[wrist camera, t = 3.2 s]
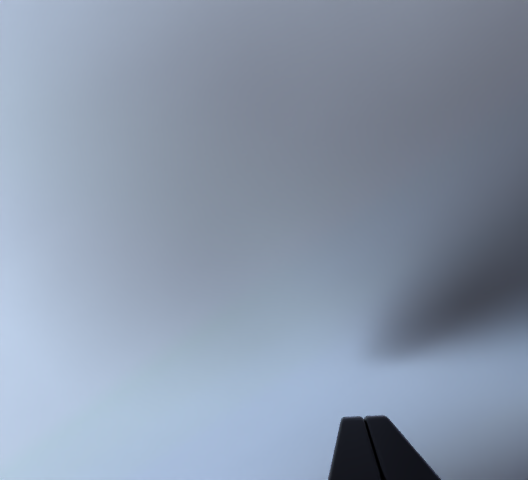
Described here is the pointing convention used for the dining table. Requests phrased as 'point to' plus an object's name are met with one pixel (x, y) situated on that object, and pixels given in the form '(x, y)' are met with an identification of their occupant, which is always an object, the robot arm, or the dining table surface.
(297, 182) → the dining table surface
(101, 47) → the dining table surface
